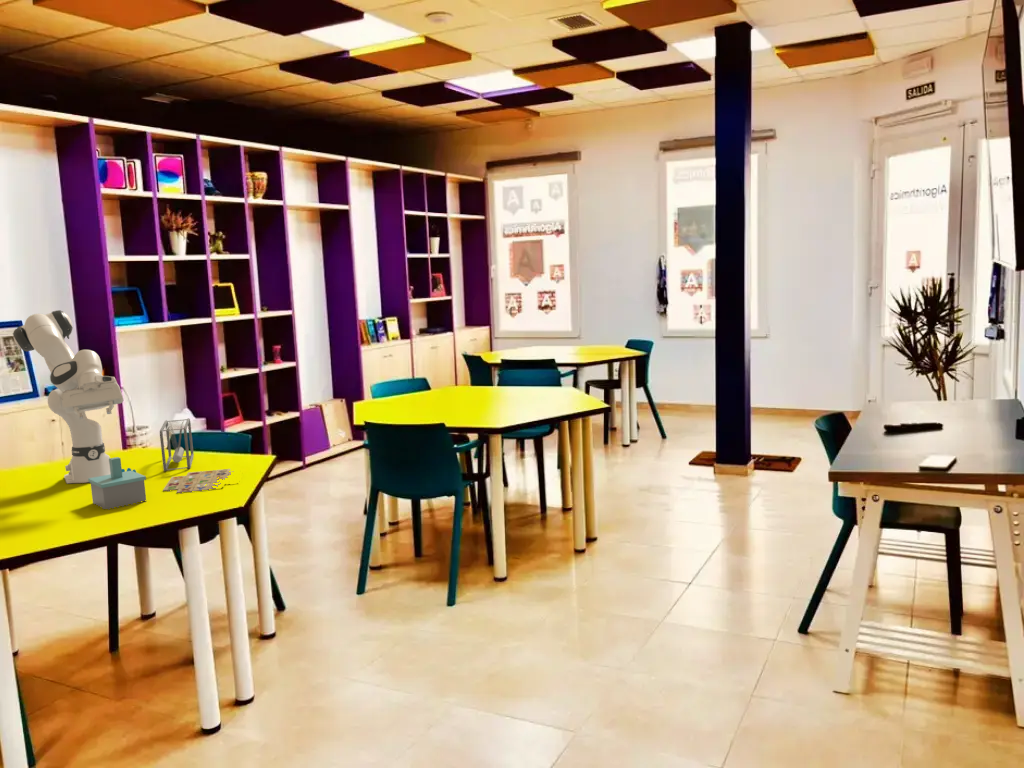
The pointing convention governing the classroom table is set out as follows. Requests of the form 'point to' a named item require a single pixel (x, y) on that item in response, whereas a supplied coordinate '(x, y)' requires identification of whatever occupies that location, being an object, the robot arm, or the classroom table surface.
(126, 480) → the lid
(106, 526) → the classroom table surface
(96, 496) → the grey open box
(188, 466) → the newton's cradle
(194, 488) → the alphabet tiles
